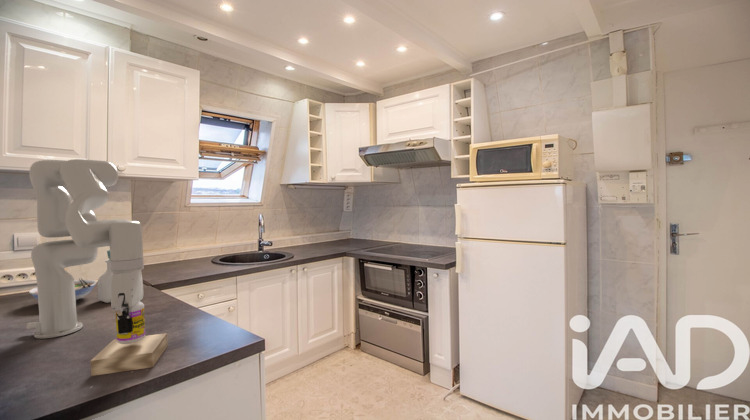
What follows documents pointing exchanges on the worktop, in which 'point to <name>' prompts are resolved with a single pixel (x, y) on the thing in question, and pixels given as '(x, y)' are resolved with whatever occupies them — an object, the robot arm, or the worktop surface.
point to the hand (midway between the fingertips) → (130, 327)
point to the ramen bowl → (80, 288)
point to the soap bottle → (105, 283)
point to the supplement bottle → (137, 324)
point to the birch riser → (129, 355)
